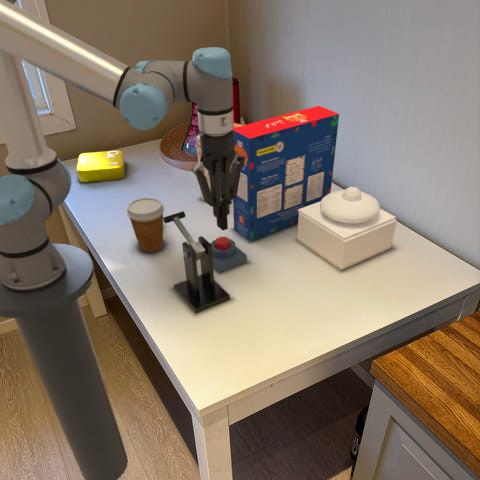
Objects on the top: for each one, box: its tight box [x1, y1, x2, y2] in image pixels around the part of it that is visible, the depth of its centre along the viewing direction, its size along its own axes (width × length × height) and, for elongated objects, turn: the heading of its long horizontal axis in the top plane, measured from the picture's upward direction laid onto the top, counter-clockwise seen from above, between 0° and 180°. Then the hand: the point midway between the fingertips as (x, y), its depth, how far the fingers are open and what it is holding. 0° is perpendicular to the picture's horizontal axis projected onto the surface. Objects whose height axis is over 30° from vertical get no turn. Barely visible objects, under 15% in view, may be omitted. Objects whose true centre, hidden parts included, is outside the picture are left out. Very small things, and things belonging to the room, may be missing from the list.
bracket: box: [173, 235, 231, 314], centre depth 109 cm, size 11×9×14 cm
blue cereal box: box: [232, 105, 340, 243], centre depth 130 cm, size 28×8×28 cm, turn 124°
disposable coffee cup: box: [126, 197, 165, 253], centre depth 126 cm, size 10×10×12 cm
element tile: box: [76, 149, 126, 183], centre depth 165 cm, size 15×15×5 cm
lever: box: [163, 210, 205, 261], centre depth 108 cm, size 13×5×2 cm, turn 32°
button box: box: [209, 238, 248, 273], centre depth 124 cm, size 10×8×4 cm
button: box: [214, 236, 230, 250], centre depth 122 cm, size 4×4×2 cm
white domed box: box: [296, 186, 398, 271], centre depth 124 cm, size 18×18×16 cm
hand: (222, 227), depth 119 cm, fingers closed
